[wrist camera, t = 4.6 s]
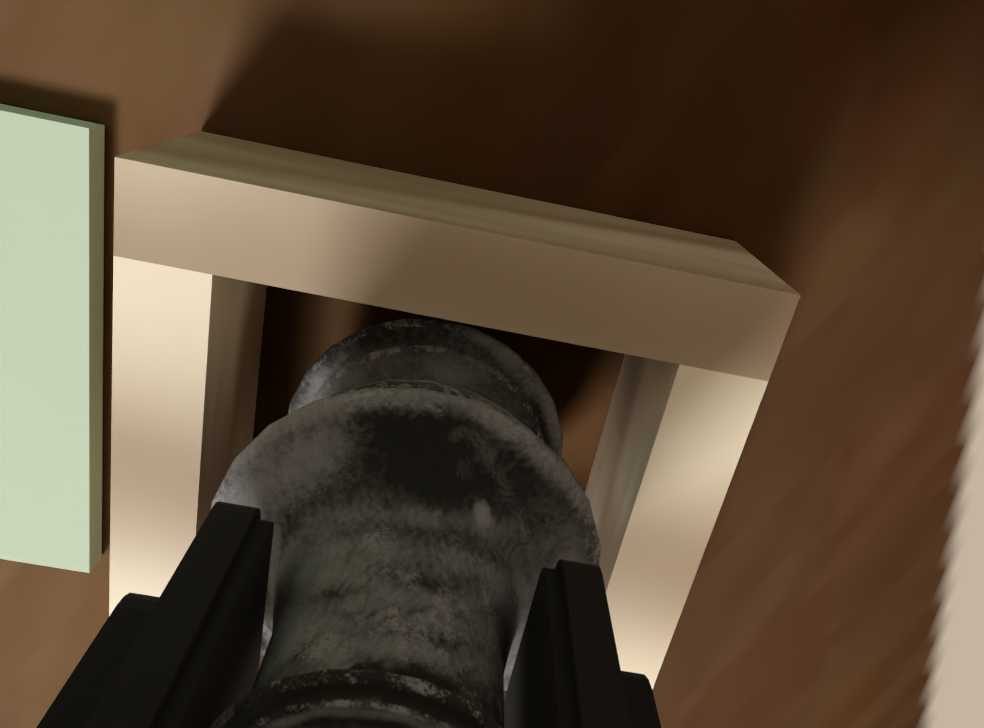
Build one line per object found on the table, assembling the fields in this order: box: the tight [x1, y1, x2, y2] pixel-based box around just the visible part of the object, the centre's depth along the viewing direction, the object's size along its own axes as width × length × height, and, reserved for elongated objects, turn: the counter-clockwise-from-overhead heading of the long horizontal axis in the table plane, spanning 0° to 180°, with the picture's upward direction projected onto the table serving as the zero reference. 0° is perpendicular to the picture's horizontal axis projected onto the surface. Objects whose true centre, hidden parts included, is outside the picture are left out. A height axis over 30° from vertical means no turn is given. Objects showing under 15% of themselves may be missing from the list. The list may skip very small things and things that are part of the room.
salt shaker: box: [210, 319, 601, 728], centre depth 9 cm, size 6×6×12 cm
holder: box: [109, 131, 801, 698], centre depth 15 cm, size 10×10×4 cm
